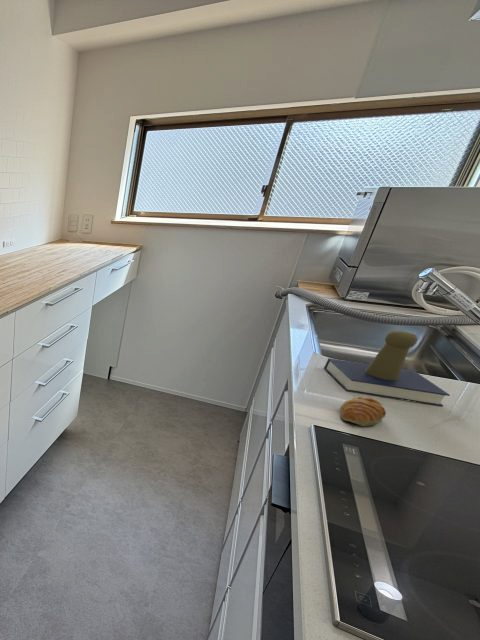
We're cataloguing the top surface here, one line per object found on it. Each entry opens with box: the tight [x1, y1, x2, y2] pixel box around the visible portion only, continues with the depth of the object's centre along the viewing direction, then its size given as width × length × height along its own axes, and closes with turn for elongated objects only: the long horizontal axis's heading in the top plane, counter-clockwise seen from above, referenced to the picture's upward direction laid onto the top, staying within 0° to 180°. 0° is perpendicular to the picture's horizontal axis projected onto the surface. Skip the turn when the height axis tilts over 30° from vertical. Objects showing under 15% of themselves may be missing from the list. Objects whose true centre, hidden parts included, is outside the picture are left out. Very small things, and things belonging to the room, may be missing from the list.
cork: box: [365, 329, 418, 380], centre depth 97 cm, size 6×6×11 cm
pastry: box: [340, 396, 387, 427], centre depth 85 cm, size 9×7×4 cm
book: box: [323, 357, 451, 407], centre depth 101 cm, size 18×14×3 cm
